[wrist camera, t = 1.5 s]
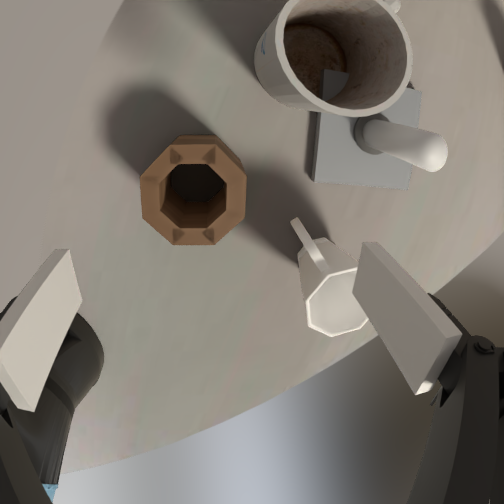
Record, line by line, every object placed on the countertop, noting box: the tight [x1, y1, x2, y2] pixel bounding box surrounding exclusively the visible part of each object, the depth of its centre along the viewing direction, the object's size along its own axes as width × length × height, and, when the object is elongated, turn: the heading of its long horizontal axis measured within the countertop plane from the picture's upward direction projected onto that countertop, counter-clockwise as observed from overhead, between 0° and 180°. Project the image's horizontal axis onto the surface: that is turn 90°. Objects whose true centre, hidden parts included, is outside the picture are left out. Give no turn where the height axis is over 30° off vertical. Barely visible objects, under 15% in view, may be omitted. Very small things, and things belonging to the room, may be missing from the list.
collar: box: [140, 135, 247, 245], centre depth 23 cm, size 7×7×6 cm
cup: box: [290, 217, 369, 337], centre depth 27 cm, size 7×10×8 cm
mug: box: [254, 0, 413, 117], centre depth 18 cm, size 12×9×10 cm
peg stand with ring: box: [311, 69, 448, 190], centre depth 21 cm, size 10×10×10 cm
